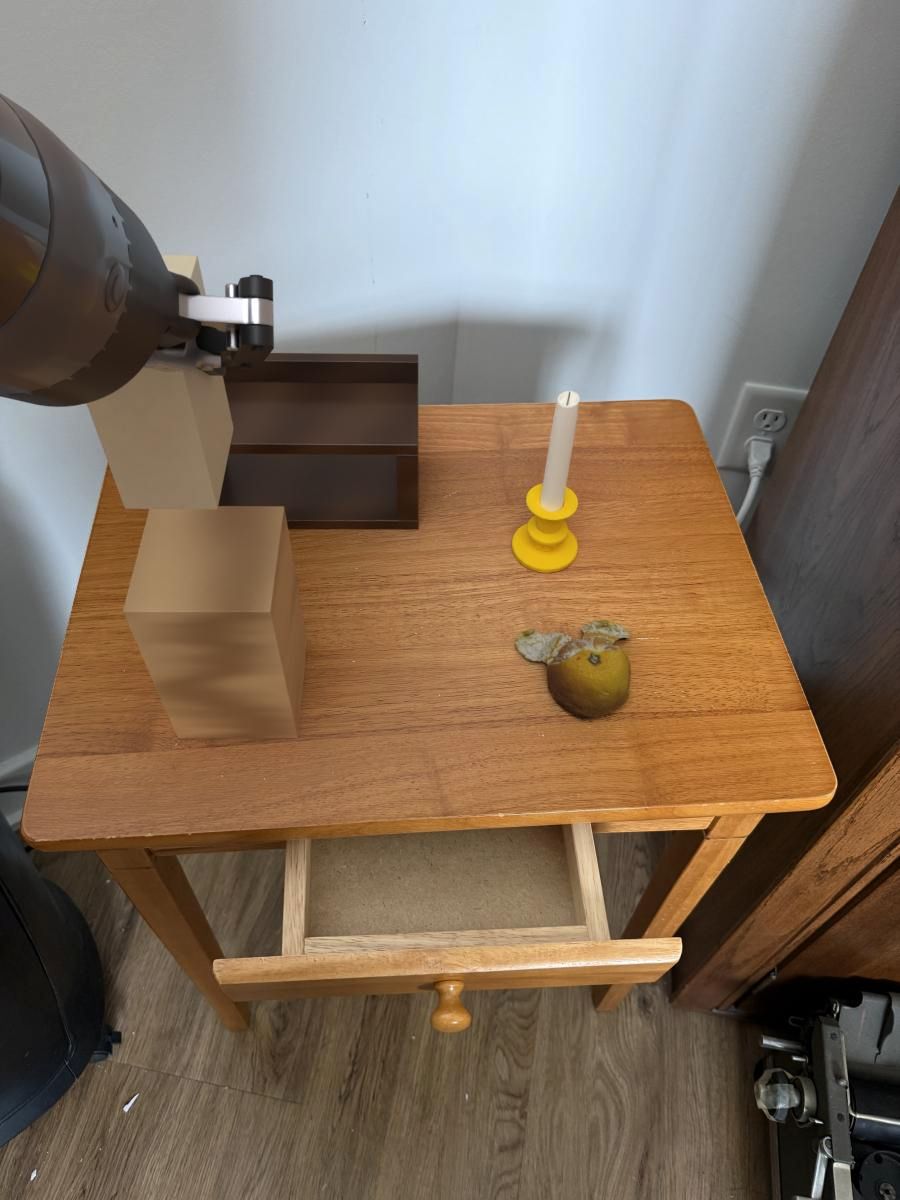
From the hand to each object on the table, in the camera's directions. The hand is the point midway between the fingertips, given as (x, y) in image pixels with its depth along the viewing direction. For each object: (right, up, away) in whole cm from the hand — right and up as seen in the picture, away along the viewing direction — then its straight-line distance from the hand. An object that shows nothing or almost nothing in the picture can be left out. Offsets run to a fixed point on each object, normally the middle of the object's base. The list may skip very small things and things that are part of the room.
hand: (163, 352), depth 42 cm
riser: (-1, -18, +20) cm, 27 cm away
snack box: (0, -5, +3) cm, 6 cm away
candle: (+21, -8, +29) cm, 36 cm away
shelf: (+2, -3, +32) cm, 32 cm away
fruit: (+23, -16, +22) cm, 36 cm away
